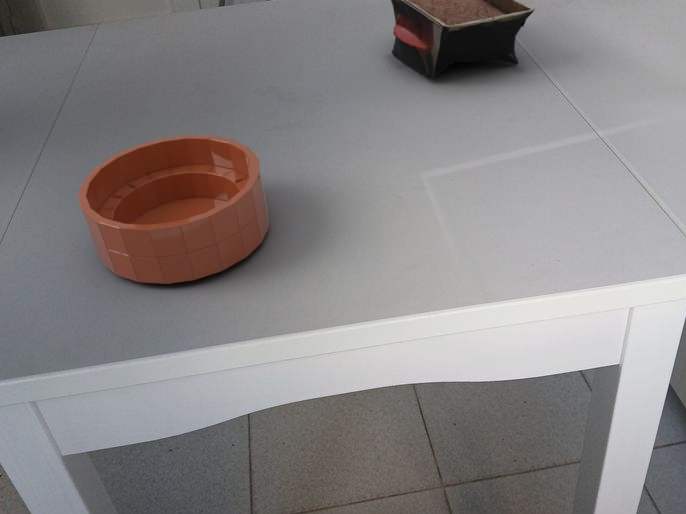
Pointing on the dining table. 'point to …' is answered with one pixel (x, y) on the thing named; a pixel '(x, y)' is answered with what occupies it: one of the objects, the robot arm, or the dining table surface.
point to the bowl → (176, 208)
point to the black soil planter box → (456, 32)
